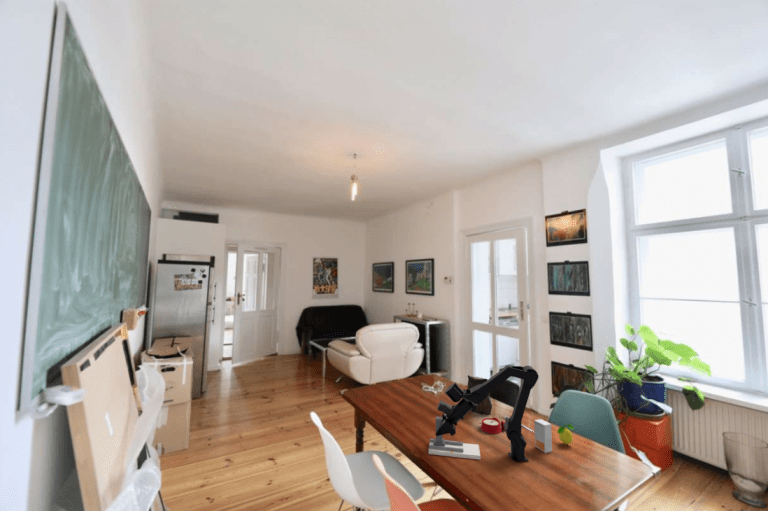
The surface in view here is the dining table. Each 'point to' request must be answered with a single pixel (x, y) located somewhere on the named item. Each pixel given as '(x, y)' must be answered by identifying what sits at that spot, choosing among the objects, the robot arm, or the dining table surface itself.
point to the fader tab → (439, 439)
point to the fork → (521, 424)
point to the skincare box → (543, 435)
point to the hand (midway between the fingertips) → (436, 432)
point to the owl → (486, 405)
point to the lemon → (565, 434)
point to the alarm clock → (492, 425)
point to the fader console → (455, 449)
